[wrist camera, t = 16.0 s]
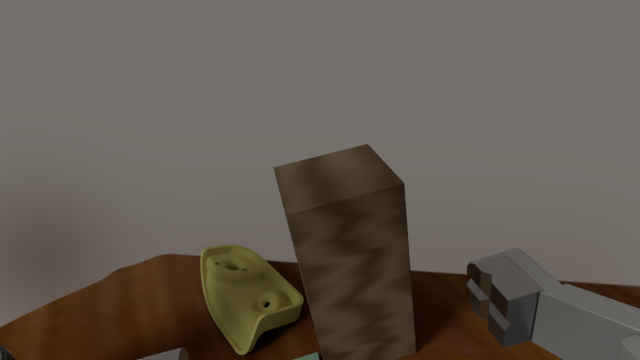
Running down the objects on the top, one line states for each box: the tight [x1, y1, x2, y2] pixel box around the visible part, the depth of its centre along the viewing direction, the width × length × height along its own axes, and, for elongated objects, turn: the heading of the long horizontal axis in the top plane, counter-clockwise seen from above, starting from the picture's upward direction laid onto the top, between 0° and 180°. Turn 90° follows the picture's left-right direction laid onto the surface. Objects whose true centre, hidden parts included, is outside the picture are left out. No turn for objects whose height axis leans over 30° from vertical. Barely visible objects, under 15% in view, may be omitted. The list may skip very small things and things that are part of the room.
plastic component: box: [201, 245, 304, 355], centre depth 62 cm, size 20×7×10 cm
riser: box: [274, 144, 416, 360], centre depth 48 cm, size 12×11×26 cm
